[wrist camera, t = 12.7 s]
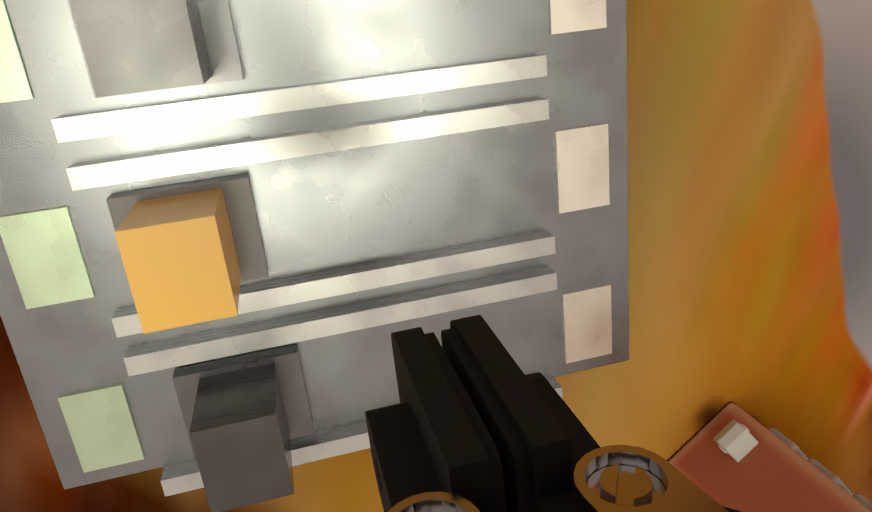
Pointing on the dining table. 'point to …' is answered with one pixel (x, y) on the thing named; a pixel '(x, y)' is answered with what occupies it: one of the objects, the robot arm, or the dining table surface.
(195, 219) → the block
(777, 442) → the control panel
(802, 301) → the dining table surface
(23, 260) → the breaker board
